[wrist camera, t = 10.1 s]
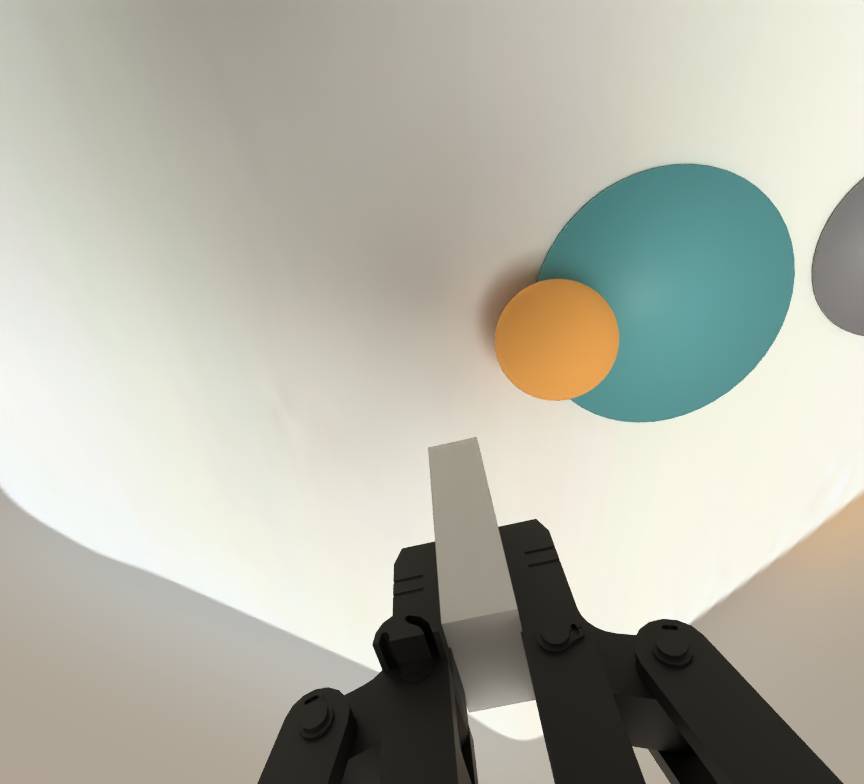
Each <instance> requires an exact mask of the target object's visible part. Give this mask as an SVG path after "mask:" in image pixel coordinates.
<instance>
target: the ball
mask: <svg viewBox="0 0 864 784" xmlns="http://www.w3.org/2000/svg"><path fill="white" fill-rule="evenodd" d="M618 348H619V329H618V324H617V321H616V318H615V315H614V313H613V311H612V309H611V307H610V306H609V305H608V303H607V302H606V300H605V299H604V298H603V297H602V296H601V295H600V294H599V293H597V292H596V291H595V290H593V289H592V288H590V287H588V286H586V285H584V284H582V283H580V282H577V281H573V280H567V279H548V280H544V281H540V282H537V283H534V284H532V285H530V286H528V287H526V288H524V289H523V290H521V291H520V292H519V293H517V294H516V295H515V296H514V297H513V298H512V299H511V300H510V301H509V303H508V304H507V305H506V307H505V308H504V310H503V311H502V313H501V316H500V318H499V320H498V323H497V327H496V332H495V350H496V355H497V359H498V362H499V364H500V366H501V368H502V370H503V372H504V373H505V375H506V376H507V378H508V379H509V380H510V381H511V382H512V383H513V384H514V385H515V386H516V387H517V388H519V389H520V390H522V391H523V392H525V393H527V394H529V395H531V396H533V397H536V398H540V399H544V400H555V401H560V400H568V399H572V398H575V397H578V396H581V395H583V394H585V393H587V392H588V391H590V390H592V389H593V388H594V387H596V386H597V385H598V384H599V383H600V382H601V381H602V380H603V379H604V378H605V377H606V375H607V374H608V373H609V371H610V370H611V368H612V366H613V364H614V362H615V359H616V356H617V353H618Z"/></svg>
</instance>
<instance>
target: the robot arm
mask: <svg viewBox="0 0 864 784" xmlns="http://www.w3.org/2000/svg"><path fill="white" fill-rule="evenodd" d="M428 451H429V465H430V478H431V492H432V505H433V519H434V532H435V542H431V543H426V544H421V545H417V546H412V547H407V548H402V550H401V552H400V554H399V556H398V558H397V560H396V562H395V564H394V588H393V595H394V597H393V616H392V617H391V618H389V619H388V620H387V621H385V622H384V623H383V624H382V625H381V627H380V628H379V629H378V631H377V632H376V634H375V638H374V641H373V647H374V650H375V652H376V655H377V657H378V660H379V662H380V665H381V667H382V671H381V672H380V673H379V674H378V675H377V676H376V677H375V678H374V679H373V680H371V681H370V682H368V683H366V684H365V685H363V686H361V687H359V688H358V689H356V690H354V691H352V692H350V693H348V694H346V695H343V694H342V693H341V692H340V691H339V690H336V689H332V688H322V689H316V690H314V691H312V692H310V693H308V694H306V695H304V696H303V697H302V698H301V699H300V700H299V701H297V702H296V703H295V704H294V705H293V706H292V708H291V710H290V711H289V713H288V715H287V716H286V718H285V720H284V722H283V725H282V727H281V730H280V732H279V734H278V737H277V739H276V741H275V744H274V746H273V748H272V751H271V753H270V756H269V758H268V760H267V762H266V765H265V768H264V770H263V772H262V774H261V777H260V779H259V781H258V784H478V778H477V769H476V760H475V752H474V744H473V738H472V735H471V732H470V728H469V725H468V716H467V708H468V711H469V712H474V711H479V710H484V709H489V708H495V707H500V706H505V705H510V704H515V703H521V702H526V701H531V700H536V703H537V707H538V712H539V716H540V721H541V725H542V729H543V734H544V738H545V742H546V747H547V751H548V756H549V760H550V764H551V769H552V773H553V778H554V782H555V784H646V783H645V781H644V778H643V775H642V772H641V770H640V767H639V764H638V761H637V759H636V756H635V754H634V751H633V748H632V746H634V747H641V748H647V749H648V750H649V751H650V753H651V754H652V756H653V757H654V759H655V760H656V762H657V763H658V765H659V767H660V768H661V770H662V771H663V772H664V774H665V776H666V777H667V778H668V780H669V782H670V783H671V784H843V783H842V782H841V781H840V780H839V778H837V776H836V775H835V774H834V773H833V772H832V771H831V770H830V769H829V768H828V767H827V766H826V765H825V764H824V763H823V761H822V760H821V759H820V758H819V757H818V756H817V755H816V754H815V753H814V752H813V751H812V750H811V749H810V748H809V747H808V746H807V745H806V743H805V742H804V741H803V740H802V739H801V738H800V737H799V736H798V735H797V734H796V733H795V732H794V731H793V730H792V729H791V728H790V726H789V725H788V724H787V723H786V722H785V721H784V720H783V719H782V718H781V717H780V716H779V715H778V714H777V713H776V712H775V711H774V710H773V709H772V707H771V706H770V705H769V704H768V703H767V702H766V701H765V700H764V699H763V698H762V697H761V696H760V695H759V694H758V693H757V692H756V690H755V689H754V688H753V687H752V686H751V685H750V684H749V683H748V682H747V681H746V680H745V679H744V678H743V677H742V676H741V675H740V673H739V672H738V671H737V670H736V669H735V668H734V667H733V666H732V665H731V664H730V663H729V662H728V661H727V660H726V659H725V658H724V656H723V655H721V653H720V652H719V651H718V650H717V649H716V648H715V647H714V646H713V645H712V644H711V643H710V642H709V641H708V639H706V637H705V636H704V635H703V634H701V633H700V632H699V631H697V630H696V629H695V628H694V627H692V626H691V625H688V624H685V623H683V622H680V621H678V620H668V619H661V620H656V621H652V622H649V623H648V624H646V625H645V626H643V627H642V628H641V629H640V630H639V631H638V633H637V635H627V634H616V633H611V632H606V631H603V630H601V629H598V628H596V627H594V626H593V625H591V624H590V623H588V622H587V621H586V620H585V619H584V618H583V617H582V616H581V614H580V612H579V611H578V609H577V607H576V604H575V601H574V598H573V596H572V593H571V590H570V587H569V585H568V582H567V579H566V576H565V574H564V571H563V568H562V565H561V563H560V561H559V557H558V554H557V552H556V549H555V546H554V543H553V541H552V538H551V535H550V532H549V530H548V529H546V528H545V527H544V526H543V525H542V524H541V523H540V522H539V521H538V520H537V519H533V520H529V521H524V522H519V523H515V524H510V525H505V526H500V527H498V525H497V520H496V516H495V512H494V508H493V504H492V499H491V495H490V491H489V487H488V483H487V478H486V474H485V470H484V466H483V462H482V457H481V453H480V449H479V445H478V441H477V437H474V438H470V439H465V440H461V441H456V442H452V443H447V444H443V445H438V446H434V447H429V448H428ZM466 705H467V707H466Z"/></svg>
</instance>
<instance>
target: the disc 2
mask: <svg viewBox="0 0 864 784" xmlns="http://www.w3.org/2000/svg"><path fill="white" fill-rule="evenodd" d="M812 282H813V289H814V294H815V297H816V300H817V302H818V304H819V306H820V308H821V310H822V311H823V313H824V314H825V315H826V317H827V318H828V319H829V320H830V321H832V322H833V323H834V324H835V325H837V326H838V327H840V328H841V329H844V330H846V331H848V332H851V333H853V334H857V335H861V336H864V179H862V180H861V181H860V182H859V183H858V184H857V185H856V186H855V187H854V188H853V189H852V190H851V191H850V192H849V193H848V194H847V195H846V196H845V197H844V198H843V200H842V201H841V202H840V204H839V205H838V206H837V207H836V209H835V210H834V212H833V213H832V215H831V217H830V218H829V220H828V221H827V223H826V225H825V227H824V229H823V231H822V233H821V236H820V239H819V241H818V244H817V247H816V251H815V255H814V260H813V268H812Z"/></svg>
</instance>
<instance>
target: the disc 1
mask: <svg viewBox="0 0 864 784" xmlns="http://www.w3.org/2000/svg"><path fill="white" fill-rule="evenodd" d="M794 276H795V272H794V254H793V248H792V242H791V239H790V236H789V233H788V229H787V226H786V224H785V223H784V221H783V219H782V217H781V215H780V213H779V211H778V210H777V208H776V207H775V206H774V204H773V203H772V202H771V200H770V199H769V198H768V197H767V196H766V195H765V194H764V193H763V192H762V191H761V190H760V189H759V188H758V187H756V186H755V185H753V184H752V183H750V182H749V181H747V180H746V179H744V178H742V177H740V176H738V175H736V174H734V173H731V172H729V171H726V170H723V169H719V168H715V167H712V166H703V165H694V164H683V165H669V166H663V167H658V168H653V169H650V170H646V171H643V172H640V173H637V174H634V175H632V176H630V177H628V178H626V179H623V180H621V181H619V182H617V183H615V184H614V185H612V186H611V187H609V188H607V189H606V190H604V191H603V192H601V193H600V194H598V195H597V196H596V197H595V198H593V199H592V200H591V201H590V202H588V203H587V204H586V205H585V206H584V207H583V208H582V209H581V210H580V211H579V212H578V213H577V214H576V215H575V216H574V217H573V218H572V219H571V220H570V221H569V222H568V224H567V225H566V226H565V228H564V229H563V230H562V231H561V233H560V234H559V235H558V237H557V239H556V240H555V242H554V244H553V245H552V247H551V249H550V250H549V252H548V254H547V257H546V259H545V261H544V263H543V265H542V268H541V271H540V274H539V277H538V280H537V282H540V281H544V280H548V279H567V280H573V281H577V282H580V283H582V284H584V285H586V286H588V287H590V288H592V289H593V290H595V291H596V292H597V293H599V294H600V295H601V296H602V297H603V298H604V299H605V300H606V302H607V303H608V305H609V306H610V307H611V309H612V311H613V313H614V315H615V318H616V321H617V324H618V329H619V348H618V353H617V356H616V359H615V362H614V364H613V366H612V368H611V370H610V371H609V373H608V374H607V375H606V377H605V378H604V379H603V380H602V381H601V382H600V383H599V384H598V385H597V386H596V387H594V388H593V389H592V390H590V391H588V392H587V393H585V394H583V395H581V396H578V397H575V398H572V399H571V400H572V401H573V402H575V403H576V404H578V405H579V406H581V407H582V408H584V409H586V410H588V411H590V412H592V413H594V414H597V415H600V416H603V417H606V418H609V419H614V420H619V421H625V422H654V421H660V420H666V419H671V418H674V417H678V416H682V415H685V414H687V413H690V412H692V411H695V410H697V409H700V408H702V407H704V406H706V405H708V404H709V403H711V402H713V401H715V400H716V399H718V398H720V397H721V396H723V395H724V394H726V393H727V392H729V391H730V390H731V389H732V388H733V387H735V386H736V385H737V384H738V383H740V382H741V381H742V380H743V379H744V378H745V377H746V376H747V375H748V374H749V373H750V372H751V371H752V370H753V369H754V368H755V367H756V365H757V364H758V363H759V362H760V361H761V359H762V358H763V357H764V356H765V354H766V353H767V351H768V350H769V348H770V347H771V345H772V344H773V342H774V341H775V339H776V337H777V335H778V333H779V331H780V329H781V327H782V325H783V322H784V319H785V317H786V314H787V311H788V309H789V305H790V301H791V297H792V293H793V284H794Z"/></svg>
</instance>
